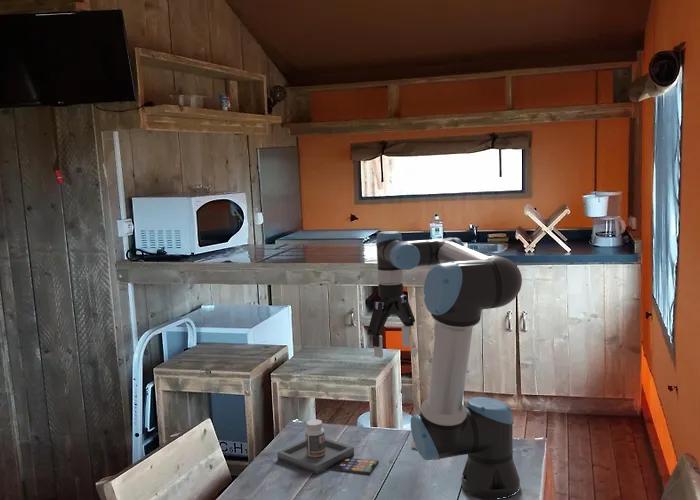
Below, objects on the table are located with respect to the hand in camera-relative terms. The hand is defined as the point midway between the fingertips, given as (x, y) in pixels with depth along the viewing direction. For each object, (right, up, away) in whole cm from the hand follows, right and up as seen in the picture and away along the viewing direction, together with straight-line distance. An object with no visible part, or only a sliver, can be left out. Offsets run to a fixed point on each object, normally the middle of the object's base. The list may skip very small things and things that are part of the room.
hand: (392, 351), depth 211 cm
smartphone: (-13, -32, -12) cm, 36 cm away
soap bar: (+10, -29, +1) cm, 31 cm away
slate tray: (-23, -31, -5) cm, 39 cm away
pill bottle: (-23, -30, -5) cm, 38 cm away
